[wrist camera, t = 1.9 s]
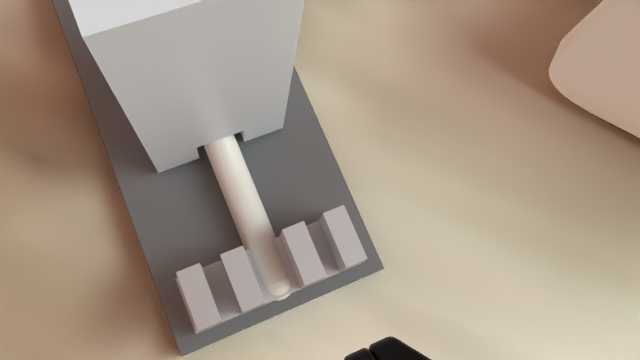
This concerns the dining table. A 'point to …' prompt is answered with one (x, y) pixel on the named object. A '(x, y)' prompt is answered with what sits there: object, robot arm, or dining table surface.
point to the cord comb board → (233, 214)
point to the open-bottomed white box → (194, 67)
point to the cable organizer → (603, 64)
